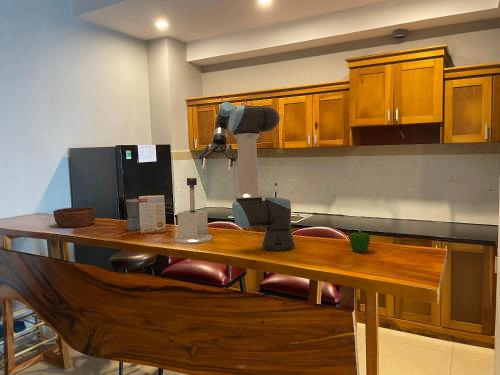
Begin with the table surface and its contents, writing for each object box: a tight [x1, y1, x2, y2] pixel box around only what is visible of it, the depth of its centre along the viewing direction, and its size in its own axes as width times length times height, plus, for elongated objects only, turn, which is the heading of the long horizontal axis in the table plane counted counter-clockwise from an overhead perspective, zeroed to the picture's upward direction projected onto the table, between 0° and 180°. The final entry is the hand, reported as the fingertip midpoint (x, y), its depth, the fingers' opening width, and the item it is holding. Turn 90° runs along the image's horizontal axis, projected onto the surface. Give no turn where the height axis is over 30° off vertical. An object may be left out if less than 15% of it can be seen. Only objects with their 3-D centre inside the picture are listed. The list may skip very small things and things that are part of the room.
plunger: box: [186, 177, 198, 212], centre depth 187 cm, size 8×8×22 cm
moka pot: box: [120, 195, 140, 232], centre depth 217 cm, size 10×15×20 cm, turn 78°
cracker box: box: [138, 194, 167, 235], centre depth 208 cm, size 14×6×21 cm, turn 105°
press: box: [172, 209, 214, 245], centre depth 188 cm, size 20×20×14 cm
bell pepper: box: [349, 229, 371, 253], centre depth 160 cm, size 8×8×10 cm
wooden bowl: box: [52, 206, 97, 229], centre depth 235 cm, size 25×25×10 cm
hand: (216, 170), depth 194 cm, fingers open, 13 cm apart
